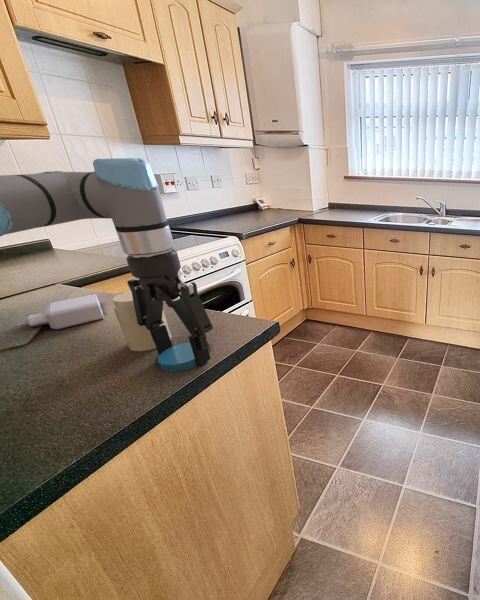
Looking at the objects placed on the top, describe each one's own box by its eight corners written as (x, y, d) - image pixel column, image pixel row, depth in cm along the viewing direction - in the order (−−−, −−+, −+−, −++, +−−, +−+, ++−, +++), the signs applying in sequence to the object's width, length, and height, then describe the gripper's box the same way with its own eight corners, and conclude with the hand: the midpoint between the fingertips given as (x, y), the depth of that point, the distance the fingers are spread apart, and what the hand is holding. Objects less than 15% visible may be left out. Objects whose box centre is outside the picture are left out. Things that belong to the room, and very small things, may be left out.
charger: (23, 326, 83) (101, 308, 92) (20, 340, 76) (104, 319, 86) (14, 308, 81) (95, 292, 90) (10, 321, 75) (97, 302, 84)
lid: (218, 352, 72) (216, 344, 71) (183, 376, 64) (181, 368, 63) (186, 346, 74) (184, 338, 73) (149, 368, 66) (146, 360, 66)
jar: (126, 355, 71) (106, 305, 66) (131, 338, 77) (114, 292, 72) (170, 345, 74) (155, 297, 70) (172, 330, 81) (158, 285, 76)
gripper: (216, 250, 60) (241, 356, 69) (126, 243, 66) (161, 342, 75) (181, 262, 54) (214, 377, 63) (84, 253, 59) (128, 361, 68)
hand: (185, 358), depth 69 cm, fingers open, 9 cm apart
